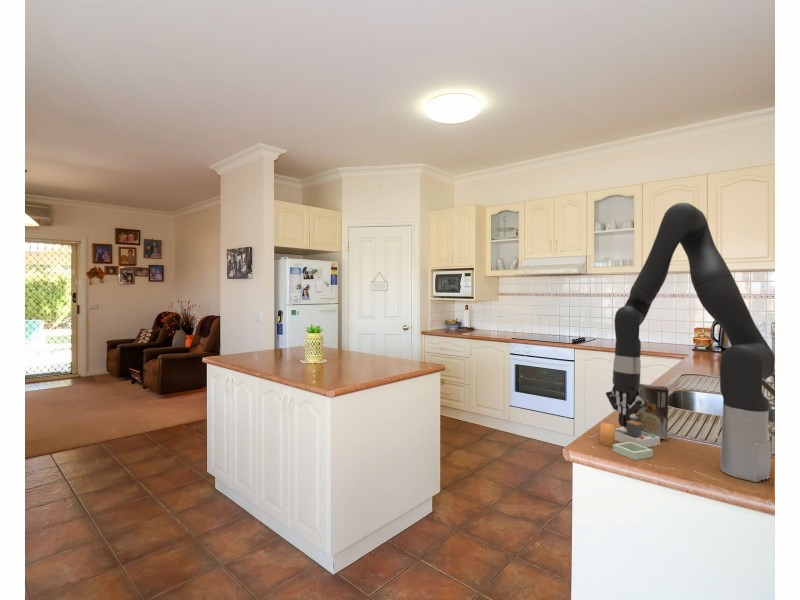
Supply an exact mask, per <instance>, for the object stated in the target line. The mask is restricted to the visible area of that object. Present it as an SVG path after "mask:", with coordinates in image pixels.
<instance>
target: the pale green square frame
mask: <svg viewBox="0 0 800 600" xmlns="http://www.w3.org/2000/svg"><path fill="white" fill-rule="evenodd" d="M613 452H614V453H616V454H618V455H620V456H623V457H626V458H629V459H631V460H632V461H633V460H634V461H638V460H644V459H649V458H654V457H653V456H654V455H653V454H654V449H652V448H650V447H647V448H646V447H644V446H641V445H638V444H635V443H632V442H625V443H622V442H619V443H615V444H613V447H612V453H613Z"/></svg>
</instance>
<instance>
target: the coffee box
mask: <svg viewBox="0 0 800 600" xmlns="http://www.w3.org/2000/svg"><path fill="white" fill-rule="evenodd" d="M638 391H639V397H640V398H641V399H642V400H645V401H646V404H645V405H644V406H643V407H642V408H641V409H640V410H639V411H638V412H637V413H636V414H634V416H636V417H638V422H640V423H642V425H641V431H643V432H646V433H649V434H655V436H658V437H660V439H666V440H667V441H668V427H669V425H668V424H669V422H668V421H669V388H668V386H663V385H653V384H644V383H643V384H642V383H640V386H639V388H638ZM666 440H665V441H666Z"/></svg>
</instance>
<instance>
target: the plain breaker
mask: <svg viewBox="0 0 800 600" xmlns="http://www.w3.org/2000/svg"><path fill="white" fill-rule="evenodd" d="M630 420H634V421H637V422H638V417H636V416H635V415H634V414H631V415H630ZM624 428H627V427H624Z"/></svg>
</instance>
